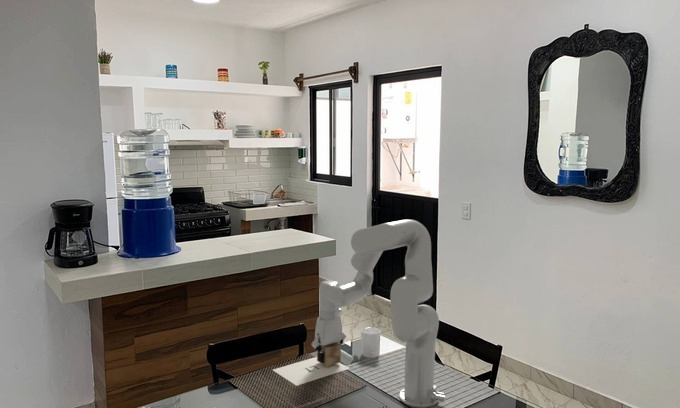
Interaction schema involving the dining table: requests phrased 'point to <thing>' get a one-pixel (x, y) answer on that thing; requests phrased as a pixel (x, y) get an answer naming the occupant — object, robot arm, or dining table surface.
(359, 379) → the dining table surface
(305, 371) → the board
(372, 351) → the white cup
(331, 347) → the walnut block
